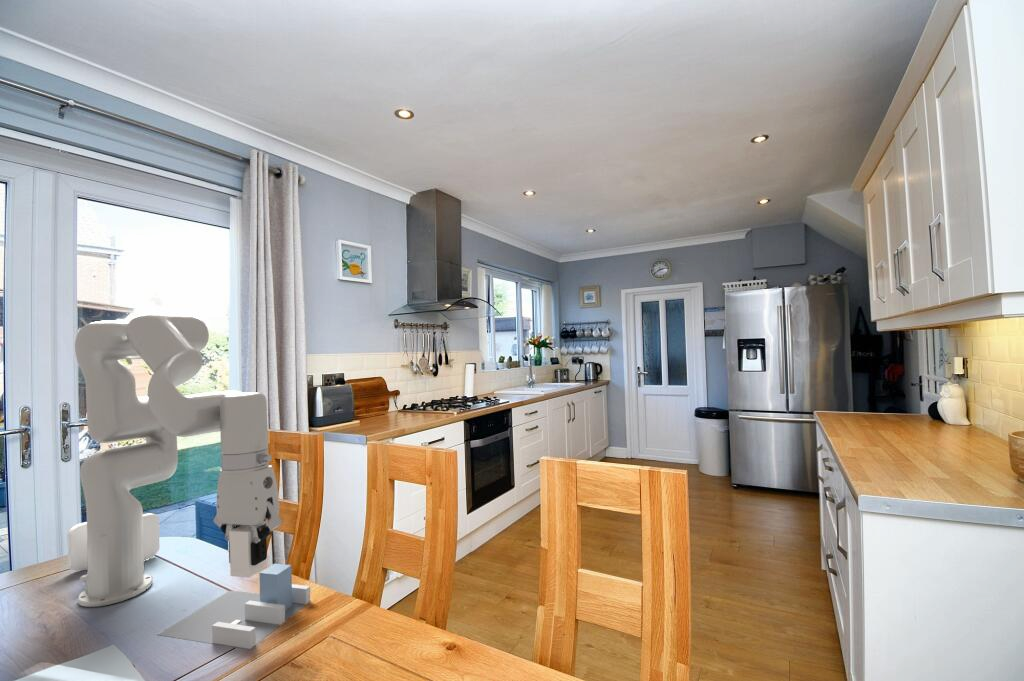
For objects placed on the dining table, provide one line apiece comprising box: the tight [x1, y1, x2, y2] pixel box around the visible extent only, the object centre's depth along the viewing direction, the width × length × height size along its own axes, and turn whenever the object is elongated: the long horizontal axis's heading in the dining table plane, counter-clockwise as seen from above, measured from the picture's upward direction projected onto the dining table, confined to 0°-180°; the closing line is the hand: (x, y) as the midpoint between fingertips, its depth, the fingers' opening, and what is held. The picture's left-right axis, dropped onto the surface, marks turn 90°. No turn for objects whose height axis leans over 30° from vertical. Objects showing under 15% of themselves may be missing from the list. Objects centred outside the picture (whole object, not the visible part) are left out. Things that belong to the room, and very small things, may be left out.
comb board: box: [157, 583, 312, 651], centre depth 91 cm, size 20×16×4 cm
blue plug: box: [259, 563, 293, 611], centre depth 94 cm, size 4×4×8 cm
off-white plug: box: [229, 525, 267, 579], centre depth 87 cm, size 4×4×8 cm
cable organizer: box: [67, 512, 160, 571], centre depth 119 cm, size 15×11×12 cm
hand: (248, 560), depth 87 cm, fingers closed on off-white plug, 4 cm apart
